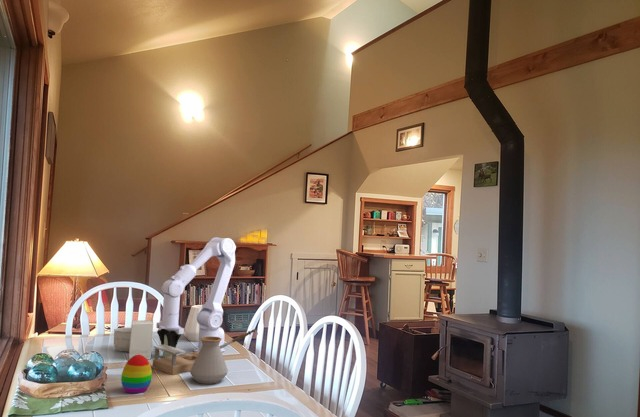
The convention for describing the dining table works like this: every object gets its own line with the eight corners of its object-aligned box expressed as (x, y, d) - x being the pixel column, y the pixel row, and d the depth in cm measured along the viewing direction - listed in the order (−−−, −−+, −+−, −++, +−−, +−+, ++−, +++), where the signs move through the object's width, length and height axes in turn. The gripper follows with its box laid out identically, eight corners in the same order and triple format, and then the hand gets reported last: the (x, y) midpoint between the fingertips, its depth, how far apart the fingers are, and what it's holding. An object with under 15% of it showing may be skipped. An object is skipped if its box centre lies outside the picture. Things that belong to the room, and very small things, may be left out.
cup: (205, 334, 218) (207, 303, 219) (221, 340, 208) (223, 307, 209) (177, 337, 209) (180, 305, 210) (193, 343, 199) (195, 309, 200)
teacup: (106, 351, 181) (107, 329, 181) (127, 345, 191) (129, 324, 191) (135, 356, 176) (137, 333, 176) (156, 350, 186) (157, 329, 186)
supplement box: (150, 359, 172) (153, 323, 173) (128, 360, 170) (131, 323, 170) (150, 354, 179) (153, 319, 180) (129, 355, 177) (131, 320, 177)
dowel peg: (169, 355, 179) (170, 333, 179) (174, 357, 177) (176, 335, 177) (161, 357, 176) (162, 334, 177) (166, 359, 174) (167, 336, 174)
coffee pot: (195, 387, 144) (199, 336, 145) (185, 377, 154) (188, 329, 155) (262, 380, 155) (264, 332, 156) (248, 370, 165) (250, 325, 166)
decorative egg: (115, 394, 135) (118, 357, 135) (127, 385, 143) (129, 350, 144) (145, 395, 135) (147, 359, 135) (154, 386, 143) (157, 352, 144)
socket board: (197, 358, 177) (198, 339, 177) (218, 365, 169) (219, 345, 169) (152, 367, 163) (153, 346, 163) (172, 375, 155) (174, 352, 155)
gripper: (150, 311, 179) (147, 348, 178) (172, 317, 170) (169, 356, 169) (167, 309, 184) (164, 346, 183) (189, 315, 175) (187, 353, 174)
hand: (168, 351), depth 176 cm, fingers closed on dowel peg, 3 cm apart
